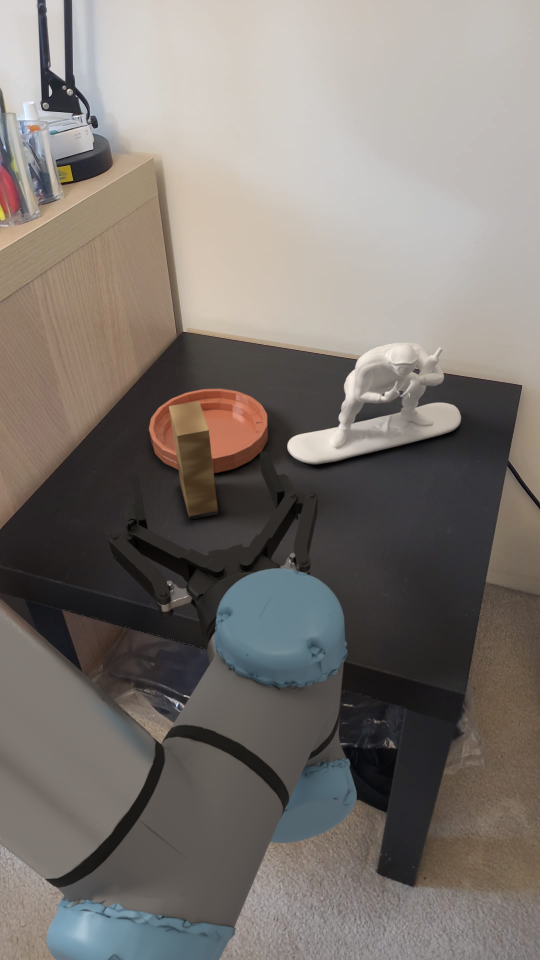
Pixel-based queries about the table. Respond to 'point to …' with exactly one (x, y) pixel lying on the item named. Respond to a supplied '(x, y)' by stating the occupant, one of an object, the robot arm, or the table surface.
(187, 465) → the wooden block
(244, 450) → the bowl
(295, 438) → the figurine
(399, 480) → the table surface
